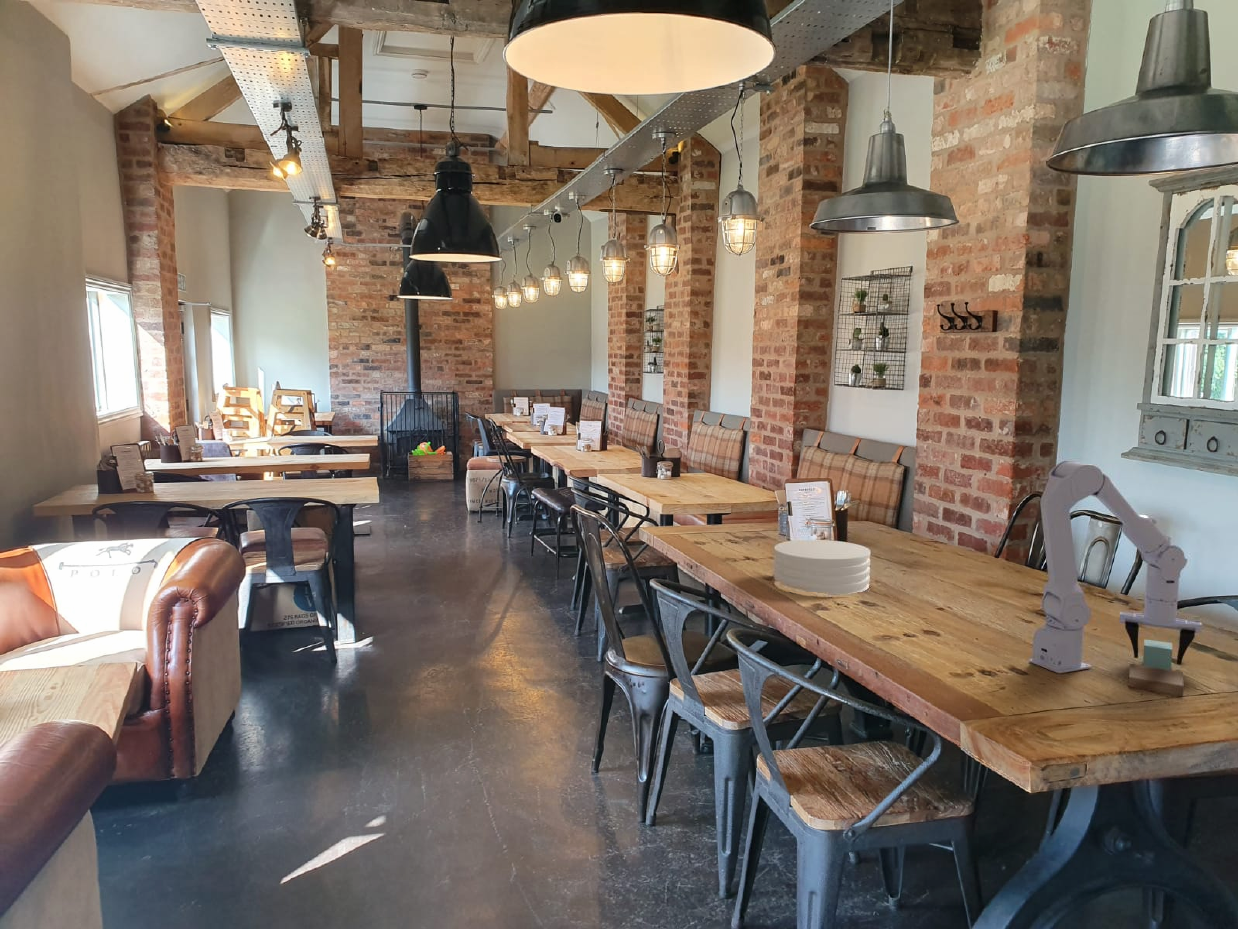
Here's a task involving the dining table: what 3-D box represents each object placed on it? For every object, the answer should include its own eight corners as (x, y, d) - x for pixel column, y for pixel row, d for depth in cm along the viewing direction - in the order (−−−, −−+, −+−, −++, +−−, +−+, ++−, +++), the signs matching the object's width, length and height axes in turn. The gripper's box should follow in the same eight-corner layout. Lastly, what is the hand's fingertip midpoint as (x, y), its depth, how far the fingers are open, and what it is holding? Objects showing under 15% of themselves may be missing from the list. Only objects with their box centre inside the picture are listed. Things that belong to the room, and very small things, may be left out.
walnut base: (1128, 686, 163) (1129, 676, 163) (1129, 673, 170) (1130, 663, 170) (1182, 695, 158) (1183, 686, 158) (1181, 681, 165) (1182, 672, 165)
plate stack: (833, 604, 224) (834, 563, 223) (754, 585, 245) (755, 548, 244) (887, 587, 243) (888, 549, 241) (809, 570, 264) (810, 536, 262)
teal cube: (1142, 668, 173) (1144, 645, 173) (1143, 661, 177) (1144, 639, 177) (1170, 672, 171) (1172, 649, 170) (1170, 665, 175) (1172, 643, 174)
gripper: (1202, 598, 172) (1197, 660, 173) (1121, 589, 180) (1118, 648, 181) (1203, 606, 166) (1199, 670, 167) (1120, 596, 174) (1117, 657, 175)
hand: (1157, 660), depth 174 cm, fingers open, 7 cm apart
